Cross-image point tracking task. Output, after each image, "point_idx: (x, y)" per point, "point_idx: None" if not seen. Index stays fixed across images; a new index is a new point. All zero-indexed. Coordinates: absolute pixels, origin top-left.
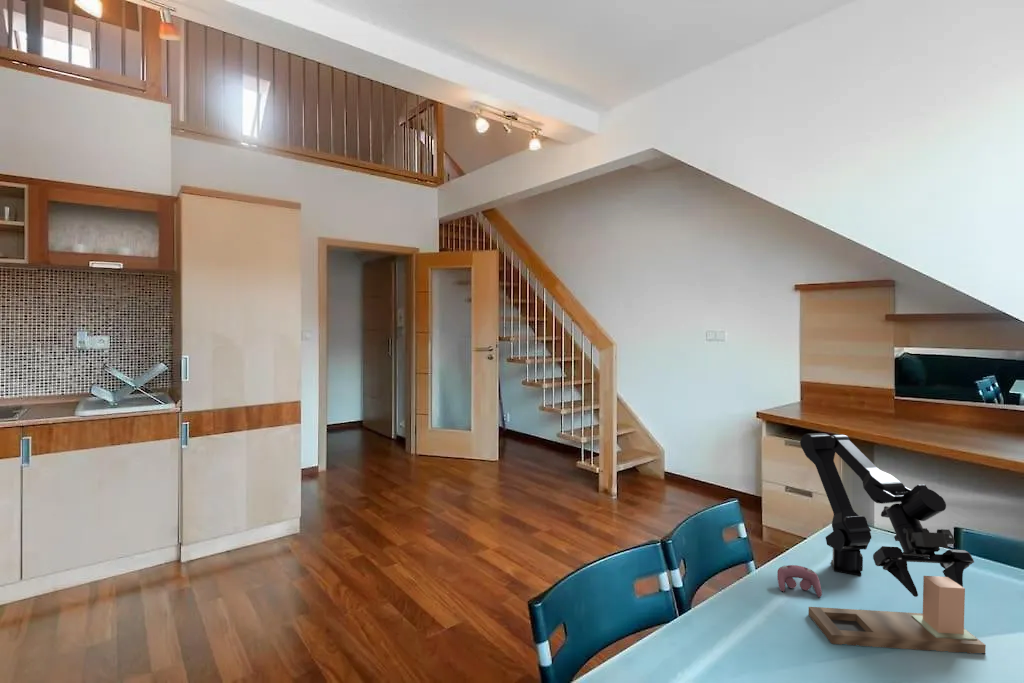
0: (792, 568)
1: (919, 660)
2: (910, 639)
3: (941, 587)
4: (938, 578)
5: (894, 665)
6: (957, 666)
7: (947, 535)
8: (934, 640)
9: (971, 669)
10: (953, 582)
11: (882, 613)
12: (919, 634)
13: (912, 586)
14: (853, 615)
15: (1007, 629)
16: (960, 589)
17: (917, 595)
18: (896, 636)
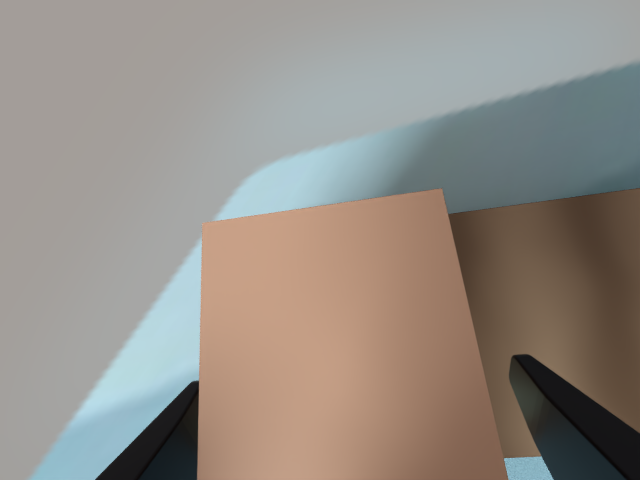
0: None
1: (508, 159)
2: (533, 206)
3: (419, 193)
4: (342, 424)
5: (604, 110)
6: (398, 160)
7: None
8: None
9: (363, 156)
10: (228, 338)
11: None
12: (480, 253)
13: (585, 401)
14: None
15: (77, 447)
16: (246, 219)
17: (517, 355)
18: (589, 212)
